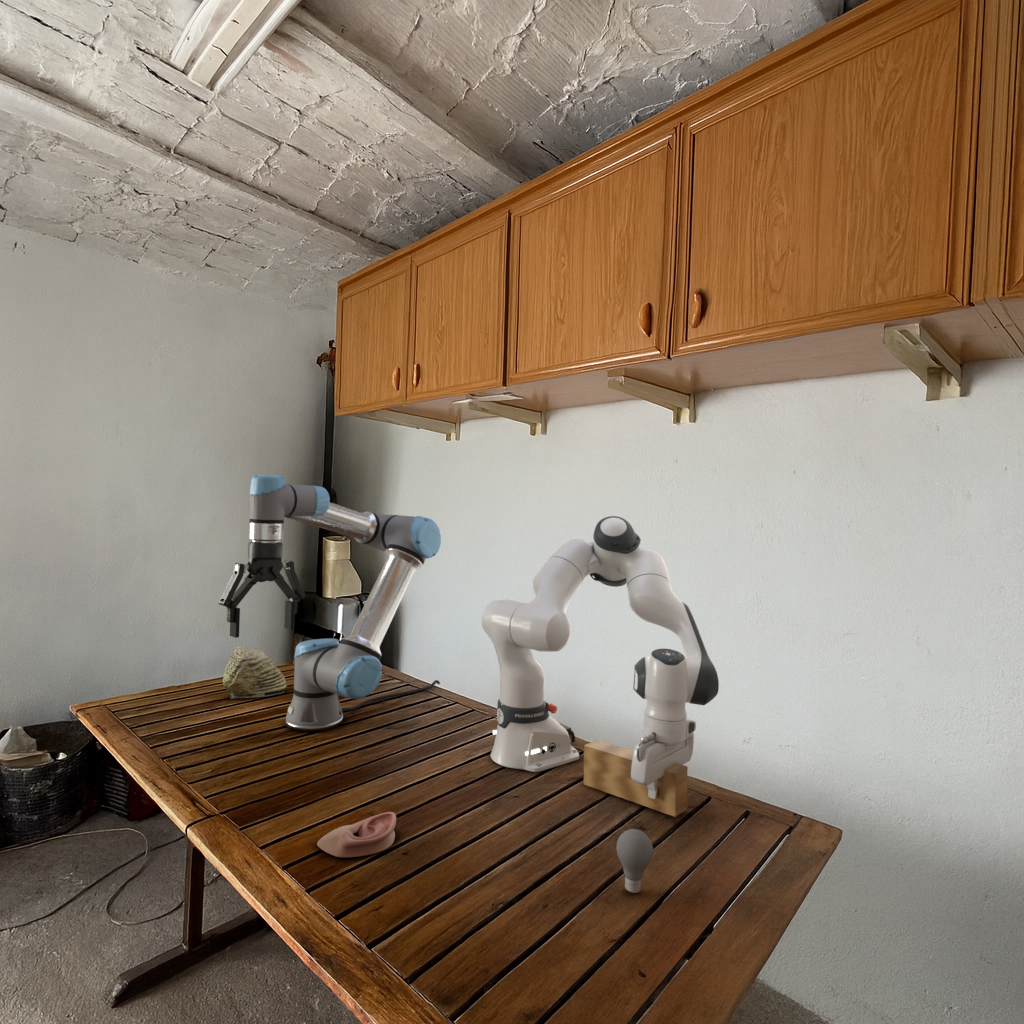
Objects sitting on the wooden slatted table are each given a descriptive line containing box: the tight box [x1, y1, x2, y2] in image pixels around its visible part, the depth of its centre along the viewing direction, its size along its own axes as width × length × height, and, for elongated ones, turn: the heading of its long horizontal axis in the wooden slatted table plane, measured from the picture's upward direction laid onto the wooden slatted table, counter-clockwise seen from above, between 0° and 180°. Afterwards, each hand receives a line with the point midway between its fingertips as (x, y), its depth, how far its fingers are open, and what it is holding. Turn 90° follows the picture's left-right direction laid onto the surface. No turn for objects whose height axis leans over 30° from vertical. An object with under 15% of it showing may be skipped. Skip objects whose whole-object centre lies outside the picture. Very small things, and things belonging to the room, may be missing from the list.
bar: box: [583, 739, 689, 818], centre depth 139 cm, size 23×5×9 cm, turn 48°
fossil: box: [222, 646, 288, 699], centre depth 198 cm, size 9×18×15 cm, turn 132°
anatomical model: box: [316, 811, 397, 858], centre depth 117 cm, size 13×4×12 cm
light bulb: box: [615, 828, 654, 894], centre depth 106 cm, size 6×6×10 cm
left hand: (262, 632), depth 147 cm, fingers open, 13 cm apart
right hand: (661, 792), depth 135 cm, fingers open, 5 cm apart
